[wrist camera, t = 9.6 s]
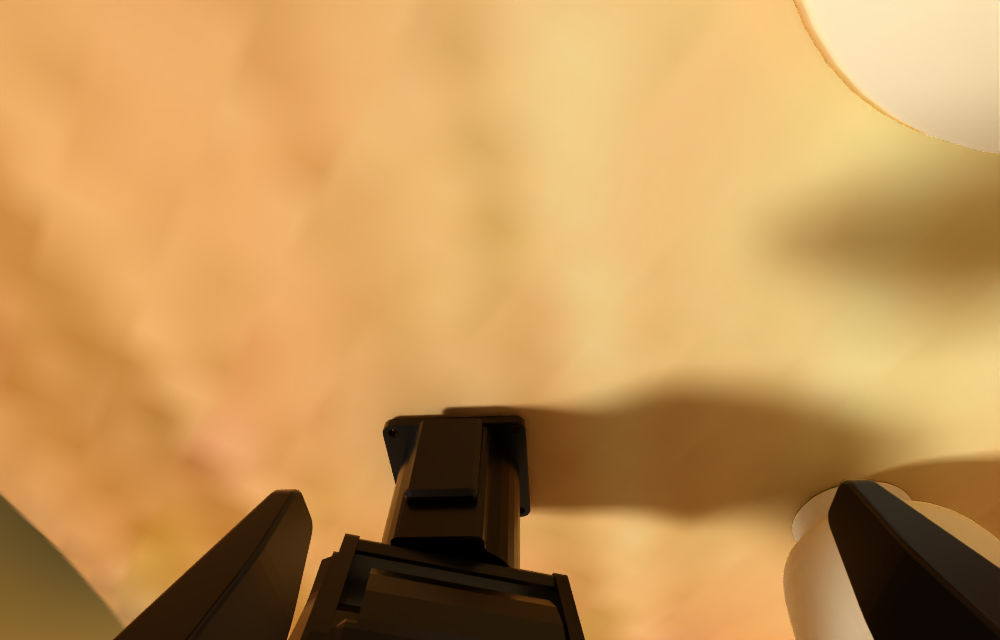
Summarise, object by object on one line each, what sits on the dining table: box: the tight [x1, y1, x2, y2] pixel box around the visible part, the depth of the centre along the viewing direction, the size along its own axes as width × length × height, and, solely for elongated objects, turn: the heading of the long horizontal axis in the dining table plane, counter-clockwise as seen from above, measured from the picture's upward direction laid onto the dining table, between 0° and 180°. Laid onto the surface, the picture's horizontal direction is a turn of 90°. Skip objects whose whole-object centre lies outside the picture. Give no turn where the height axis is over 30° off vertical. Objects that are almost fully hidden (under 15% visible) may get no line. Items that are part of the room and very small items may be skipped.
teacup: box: [783, 481, 1000, 640], centre depth 23 cm, size 12×15×10 cm
